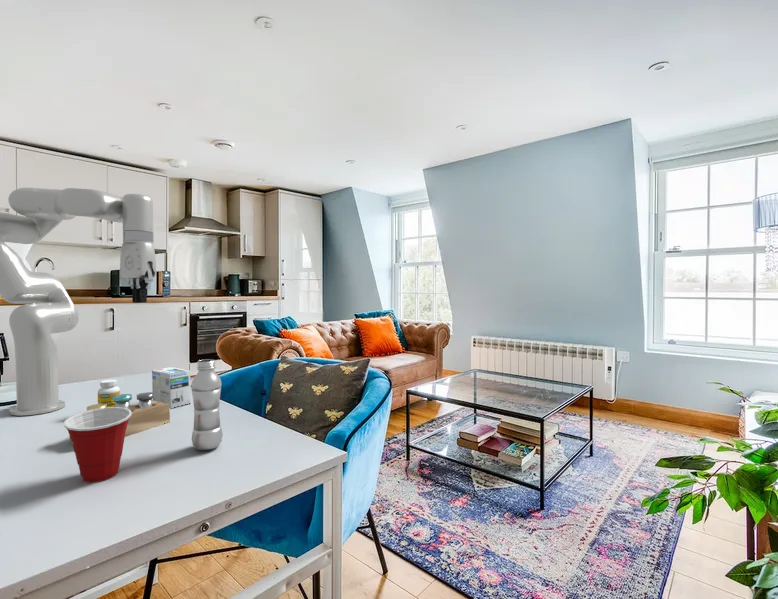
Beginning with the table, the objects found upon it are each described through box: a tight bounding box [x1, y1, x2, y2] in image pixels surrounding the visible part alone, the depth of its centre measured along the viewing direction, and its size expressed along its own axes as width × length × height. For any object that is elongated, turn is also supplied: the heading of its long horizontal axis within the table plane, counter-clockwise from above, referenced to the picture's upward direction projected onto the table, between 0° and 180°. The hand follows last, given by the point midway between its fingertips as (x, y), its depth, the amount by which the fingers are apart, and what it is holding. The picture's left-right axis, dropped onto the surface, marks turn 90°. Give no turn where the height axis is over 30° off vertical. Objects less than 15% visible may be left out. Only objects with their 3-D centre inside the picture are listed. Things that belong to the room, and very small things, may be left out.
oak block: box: [68, 399, 171, 444], centre depth 105 cm, size 8×20×5 cm, turn 154°
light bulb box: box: [151, 366, 192, 409], centre depth 129 cm, size 11×7×11 cm, turn 58°
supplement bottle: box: [97, 379, 121, 407], centre depth 119 cm, size 5×5×10 cm
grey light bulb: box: [136, 391, 154, 409], centre depth 110 cm, size 4×4×8 cm
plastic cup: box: [63, 407, 132, 483], centre depth 80 cm, size 11×11×12 cm
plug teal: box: [113, 393, 133, 410], centre depth 105 cm, size 4×4×8 cm
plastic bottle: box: [190, 358, 224, 451], centre depth 94 cm, size 6×7×20 cm
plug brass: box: [86, 403, 107, 411], centre depth 99 cm, size 4×4×8 cm
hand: (139, 302), depth 119 cm, fingers closed
